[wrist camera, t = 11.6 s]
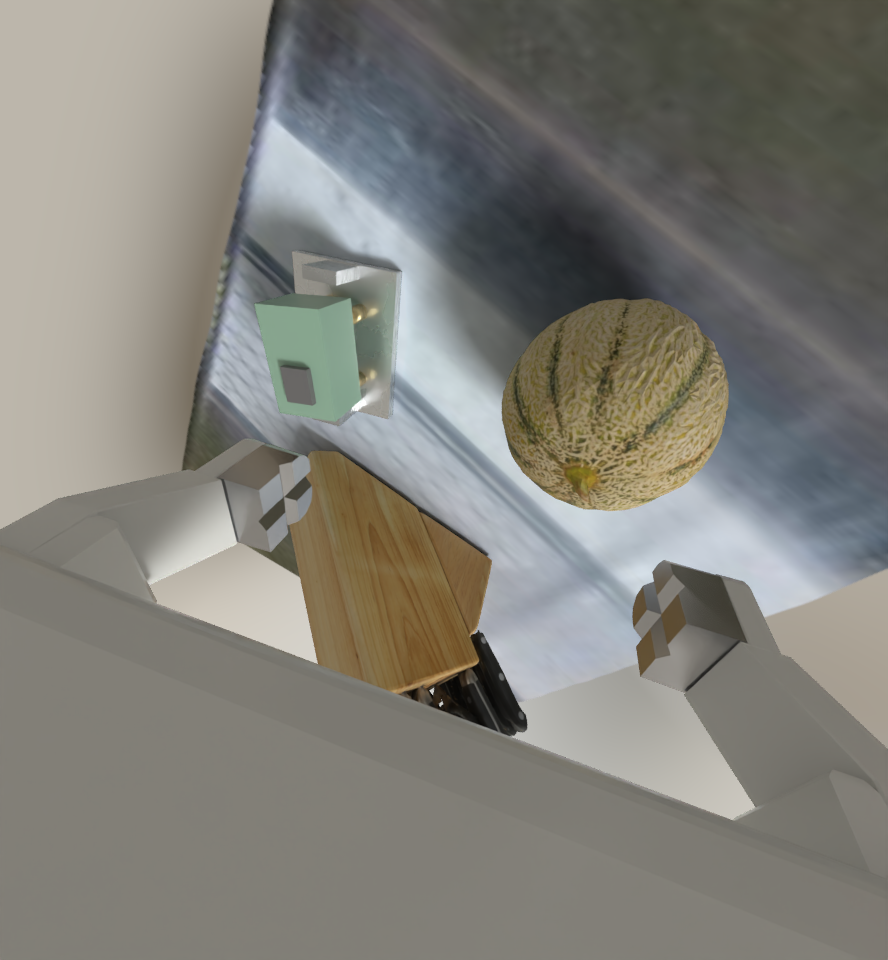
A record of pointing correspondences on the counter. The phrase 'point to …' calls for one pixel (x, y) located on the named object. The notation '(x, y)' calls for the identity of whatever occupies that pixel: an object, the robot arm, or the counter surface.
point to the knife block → (397, 597)
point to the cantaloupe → (615, 404)
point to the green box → (311, 354)
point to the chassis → (360, 321)
